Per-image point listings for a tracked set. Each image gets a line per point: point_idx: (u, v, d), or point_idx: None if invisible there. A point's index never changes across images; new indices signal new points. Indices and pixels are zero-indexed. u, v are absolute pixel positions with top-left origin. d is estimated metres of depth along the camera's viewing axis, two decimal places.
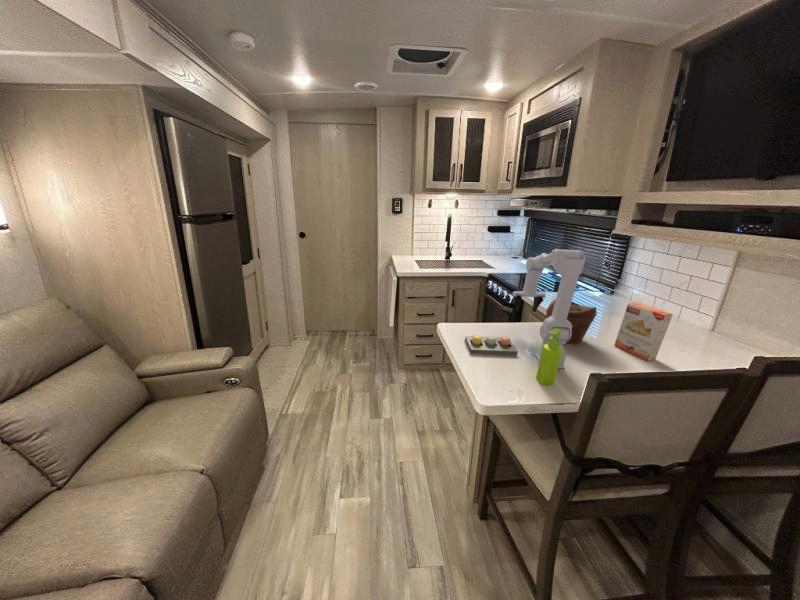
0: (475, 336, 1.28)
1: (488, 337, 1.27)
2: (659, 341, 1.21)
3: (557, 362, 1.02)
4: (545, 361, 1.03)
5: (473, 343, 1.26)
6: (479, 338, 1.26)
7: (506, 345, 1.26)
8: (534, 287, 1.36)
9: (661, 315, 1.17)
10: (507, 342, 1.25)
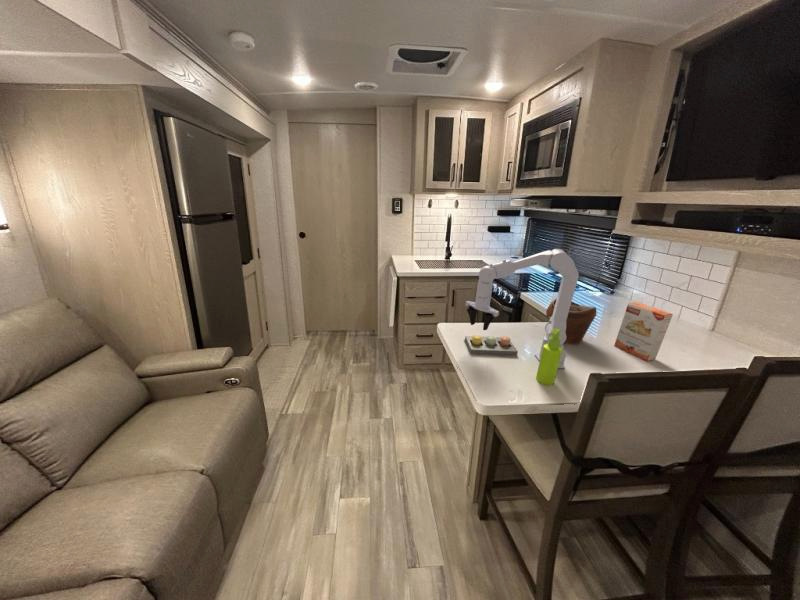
0: (475, 336, 1.28)
1: (488, 337, 1.27)
2: (659, 341, 1.21)
3: (557, 362, 1.02)
4: (545, 361, 1.03)
5: (473, 343, 1.26)
6: (479, 338, 1.26)
7: (506, 345, 1.26)
8: (480, 299, 1.19)
9: (661, 315, 1.17)
10: (507, 342, 1.25)
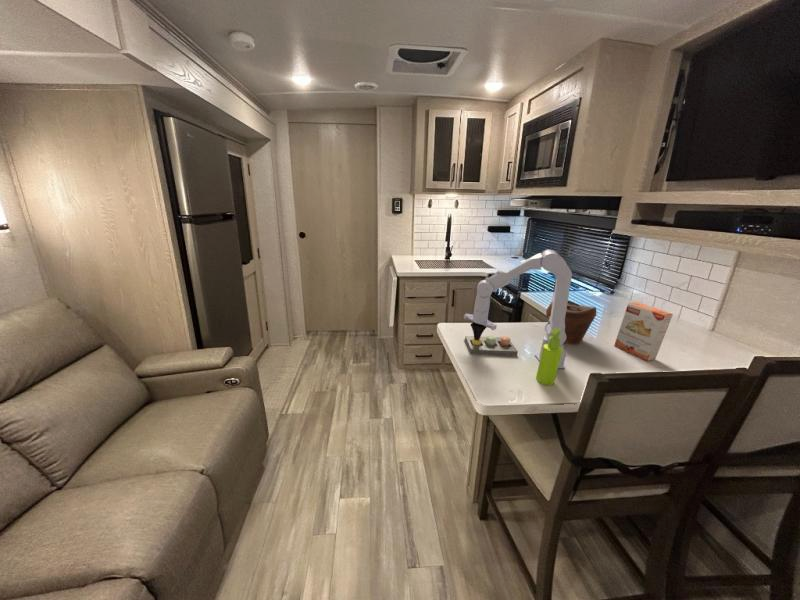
0: None
1: (488, 337, 1.27)
2: (659, 341, 1.21)
3: (557, 362, 1.02)
4: (545, 361, 1.03)
5: None
6: (479, 340, 1.26)
7: (506, 345, 1.26)
8: (478, 313, 1.21)
9: (661, 315, 1.17)
10: (507, 342, 1.25)
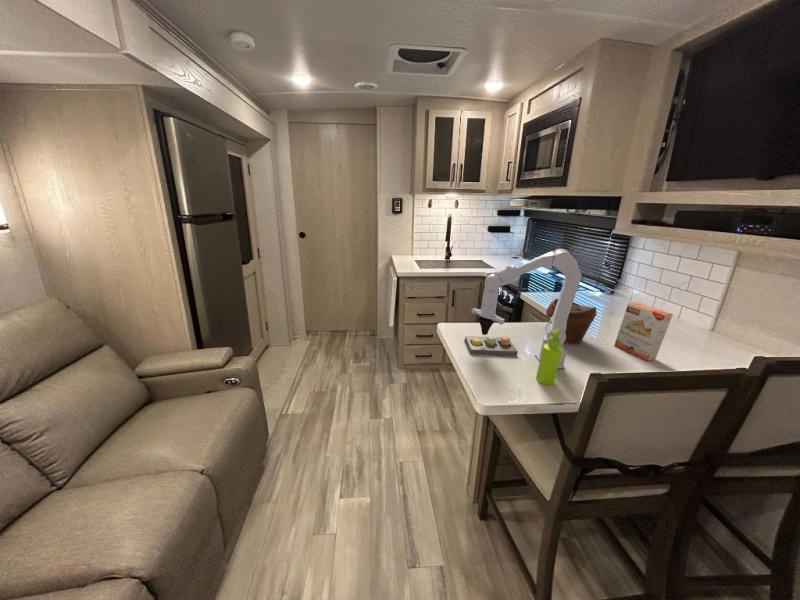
0: (475, 339, 1.28)
1: (488, 337, 1.27)
2: (659, 341, 1.21)
3: (557, 362, 1.02)
4: (545, 361, 1.03)
5: None
6: (479, 341, 1.26)
7: (506, 345, 1.26)
8: (485, 307, 1.20)
9: (661, 315, 1.17)
10: (507, 342, 1.25)
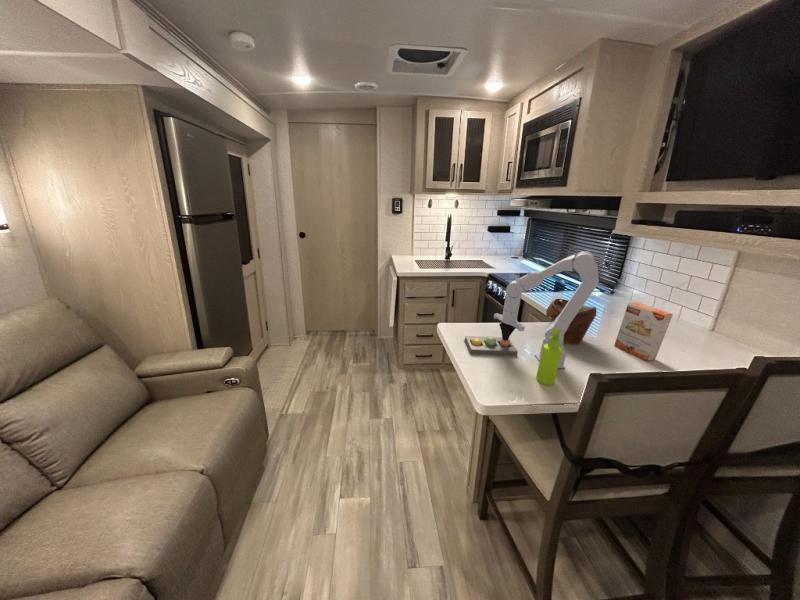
0: (475, 339, 1.28)
1: (488, 337, 1.27)
2: (659, 341, 1.21)
3: (557, 362, 1.02)
4: (545, 361, 1.03)
5: None
6: (479, 341, 1.26)
7: (506, 346, 1.26)
8: (506, 313, 1.21)
9: (661, 315, 1.17)
10: (507, 343, 1.26)
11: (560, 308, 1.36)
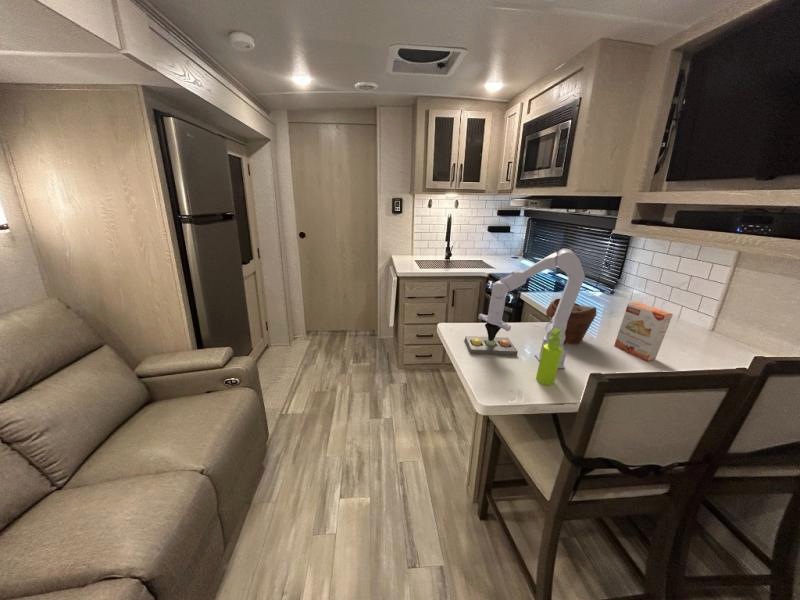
0: (475, 339, 1.28)
1: None
2: (659, 341, 1.21)
3: (557, 362, 1.02)
4: (545, 361, 1.03)
5: None
6: (479, 341, 1.26)
7: None
8: (492, 314, 1.21)
9: (661, 315, 1.17)
10: (506, 345, 1.26)
11: None
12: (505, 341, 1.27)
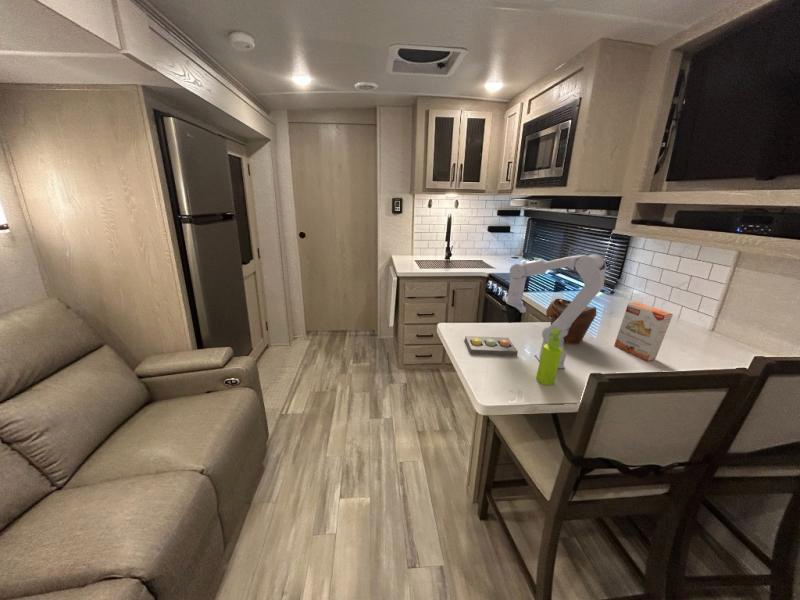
0: (475, 339, 1.28)
1: (488, 340, 1.28)
2: (659, 341, 1.21)
3: (557, 362, 1.02)
4: (545, 361, 1.03)
5: None
6: (479, 341, 1.26)
7: None
8: (510, 294, 1.24)
9: (661, 315, 1.17)
10: (506, 345, 1.26)
11: (560, 308, 1.36)
12: (505, 341, 1.27)
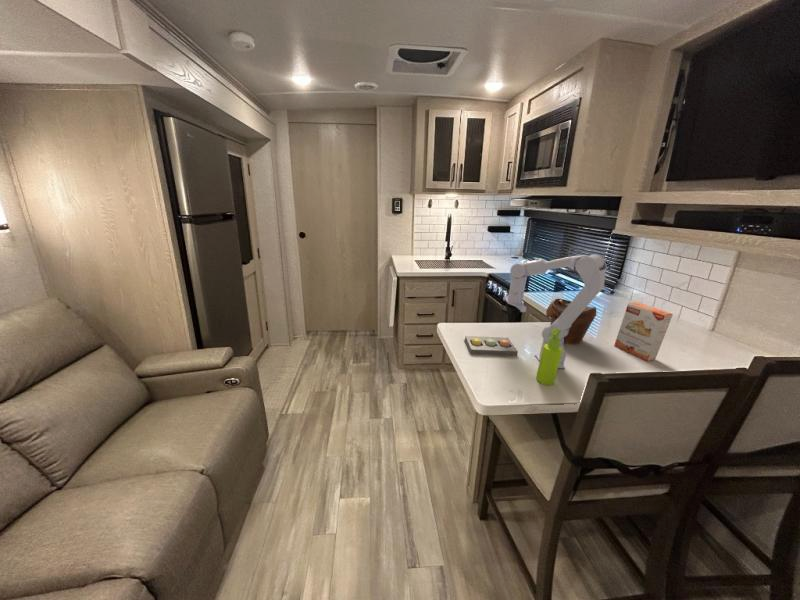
0: (475, 339, 1.28)
1: (488, 340, 1.28)
2: (659, 341, 1.21)
3: (557, 362, 1.02)
4: (545, 361, 1.03)
5: None
6: (479, 341, 1.26)
7: None
8: (510, 294, 1.24)
9: (661, 315, 1.17)
10: (506, 345, 1.26)
11: (560, 308, 1.36)
12: (505, 341, 1.27)
